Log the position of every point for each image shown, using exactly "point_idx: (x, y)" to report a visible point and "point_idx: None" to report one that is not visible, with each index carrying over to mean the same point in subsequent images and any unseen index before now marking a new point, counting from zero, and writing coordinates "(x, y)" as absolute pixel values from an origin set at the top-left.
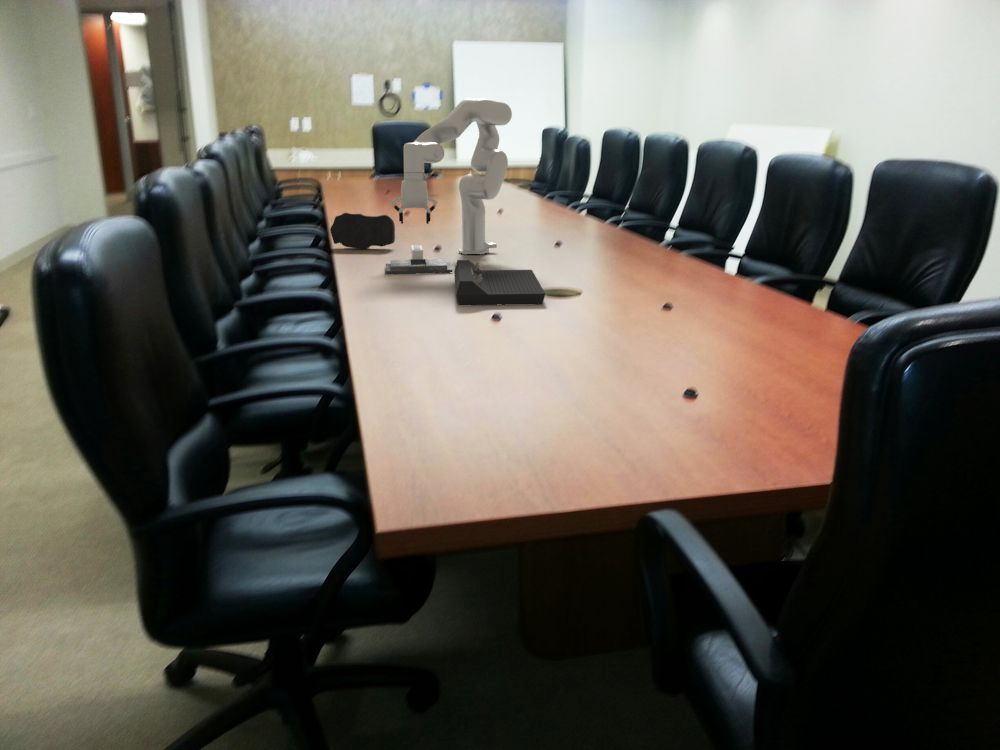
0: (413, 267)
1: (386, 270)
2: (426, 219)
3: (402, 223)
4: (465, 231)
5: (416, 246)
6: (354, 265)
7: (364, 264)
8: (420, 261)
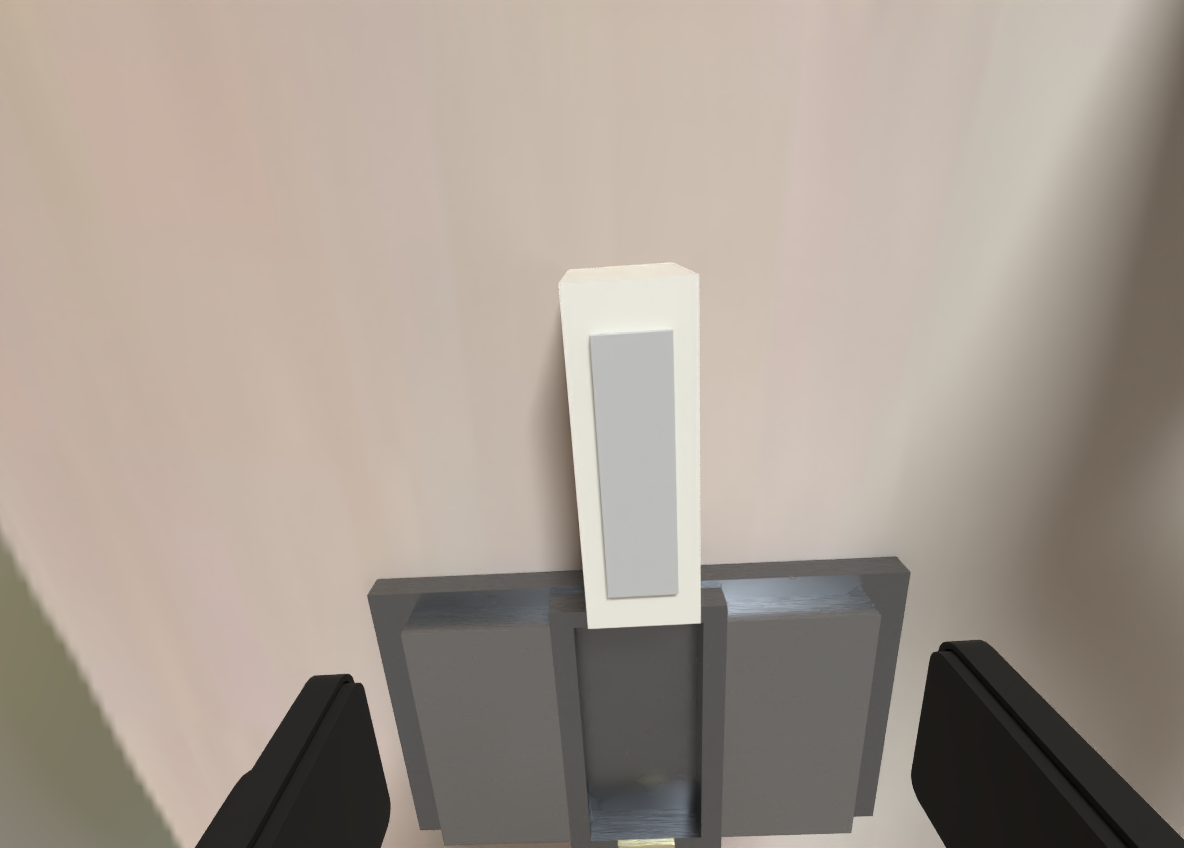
0: (607, 843)
1: (422, 807)
2: (978, 788)
3: (379, 816)
4: None
5: (633, 450)
6: (95, 500)
7: (165, 463)
8: None
